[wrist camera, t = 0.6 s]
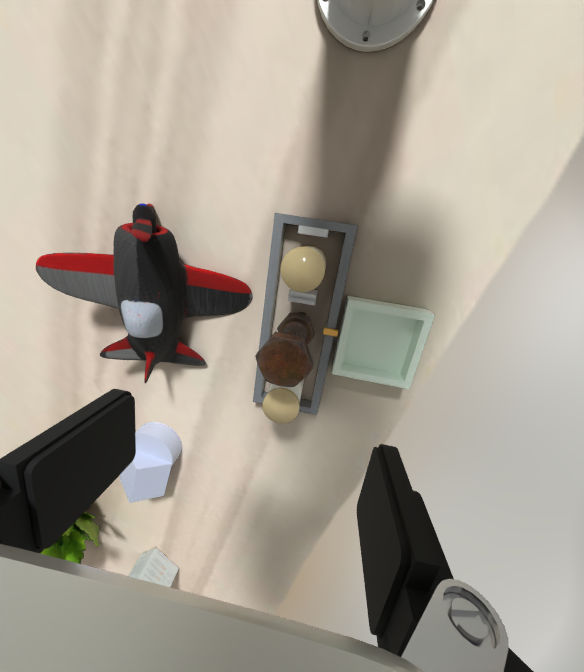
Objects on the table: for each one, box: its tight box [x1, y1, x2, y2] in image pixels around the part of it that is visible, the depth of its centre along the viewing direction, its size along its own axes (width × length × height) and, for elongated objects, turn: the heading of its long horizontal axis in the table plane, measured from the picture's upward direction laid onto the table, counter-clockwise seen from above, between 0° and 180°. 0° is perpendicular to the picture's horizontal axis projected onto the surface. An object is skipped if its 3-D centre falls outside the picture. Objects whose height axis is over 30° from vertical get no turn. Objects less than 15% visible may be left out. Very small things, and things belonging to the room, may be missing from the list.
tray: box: [332, 295, 435, 389], centre depth 38 cm, size 11×11×3 cm
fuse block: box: [253, 213, 358, 415], centre depth 39 cm, size 11×28×4 cm, turn 171°
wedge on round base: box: [120, 422, 182, 503], centre depth 50 cm, size 9×7×13 cm
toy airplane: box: [36, 204, 252, 383], centre depth 38 cm, size 28×24×15 cm
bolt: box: [256, 312, 315, 387], centre depth 34 cm, size 6×5×15 cm
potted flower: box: [40, 512, 99, 564], centre depth 53 cm, size 25×24×18 cm
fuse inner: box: [281, 246, 326, 292], centre depth 33 cm, size 5×5×10 cm
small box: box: [129, 547, 179, 587], centre depth 59 cm, size 8×6×10 cm
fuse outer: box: [263, 378, 305, 423], centre depth 39 cm, size 5×5×10 cm
